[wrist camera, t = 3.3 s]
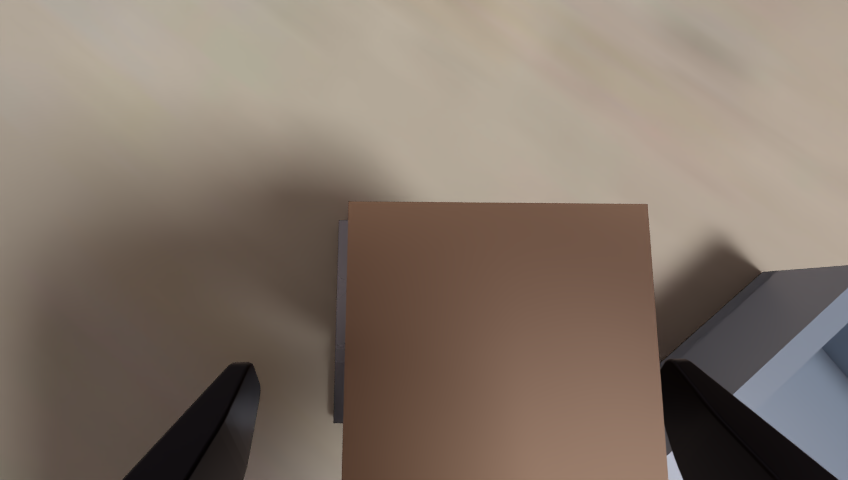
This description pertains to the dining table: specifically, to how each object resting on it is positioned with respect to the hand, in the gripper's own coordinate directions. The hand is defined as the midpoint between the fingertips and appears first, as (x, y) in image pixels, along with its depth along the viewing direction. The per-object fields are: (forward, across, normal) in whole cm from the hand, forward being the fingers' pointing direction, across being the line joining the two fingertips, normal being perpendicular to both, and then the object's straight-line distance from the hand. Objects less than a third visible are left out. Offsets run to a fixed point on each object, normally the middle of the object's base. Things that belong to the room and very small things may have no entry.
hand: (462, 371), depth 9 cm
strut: (+6, 0, +5) cm, 8 cm away
